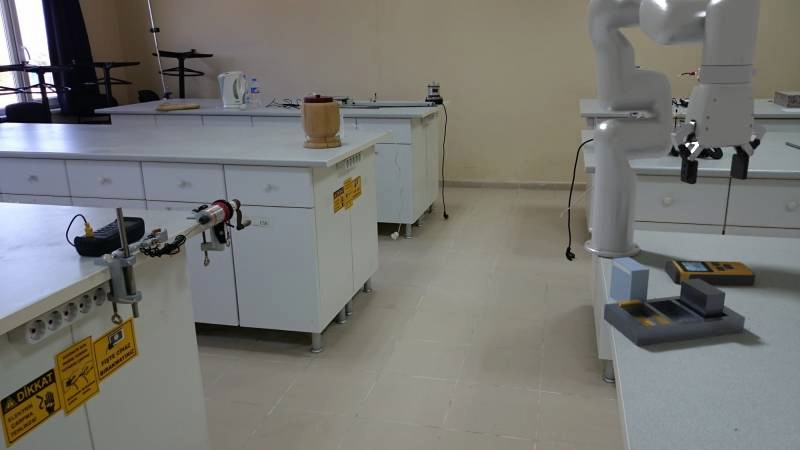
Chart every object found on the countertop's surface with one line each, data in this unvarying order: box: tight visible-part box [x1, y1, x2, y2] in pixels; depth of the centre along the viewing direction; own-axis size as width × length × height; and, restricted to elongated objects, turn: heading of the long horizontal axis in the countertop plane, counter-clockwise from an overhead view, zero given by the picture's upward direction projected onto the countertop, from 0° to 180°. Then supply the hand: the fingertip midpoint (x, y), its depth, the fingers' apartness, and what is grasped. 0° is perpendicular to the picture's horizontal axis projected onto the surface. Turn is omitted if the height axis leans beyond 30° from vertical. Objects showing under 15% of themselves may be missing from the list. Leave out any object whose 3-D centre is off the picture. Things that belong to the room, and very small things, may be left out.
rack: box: [603, 279, 746, 347], centre depth 108 cm, size 11×20×7 cm, turn 101°
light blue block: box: [609, 257, 650, 303], centre depth 118 cm, size 7×4×8 cm, turn 11°
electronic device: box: [664, 260, 756, 286], centre depth 129 cm, size 8×16×3 cm, turn 82°
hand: (713, 180), depth 103 cm, fingers open, 9 cm apart
